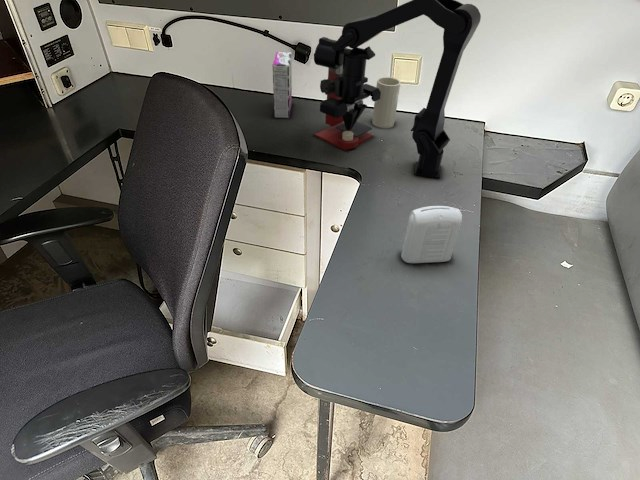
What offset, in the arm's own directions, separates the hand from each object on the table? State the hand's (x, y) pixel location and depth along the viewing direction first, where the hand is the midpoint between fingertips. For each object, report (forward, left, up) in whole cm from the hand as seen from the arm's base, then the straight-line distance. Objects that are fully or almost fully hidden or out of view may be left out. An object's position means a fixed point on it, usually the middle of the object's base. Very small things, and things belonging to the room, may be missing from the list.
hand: (348, 130), depth 129 cm
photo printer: (-42, -24, -5) cm, 49 cm away
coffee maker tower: (+7, +1, -2) cm, 8 cm away
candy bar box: (+17, +23, -5) cm, 29 cm away
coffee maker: (+5, +2, -5) cm, 7 cm away
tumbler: (+18, -8, -5) cm, 20 cm away
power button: (0, 0, -3) cm, 3 cm away
